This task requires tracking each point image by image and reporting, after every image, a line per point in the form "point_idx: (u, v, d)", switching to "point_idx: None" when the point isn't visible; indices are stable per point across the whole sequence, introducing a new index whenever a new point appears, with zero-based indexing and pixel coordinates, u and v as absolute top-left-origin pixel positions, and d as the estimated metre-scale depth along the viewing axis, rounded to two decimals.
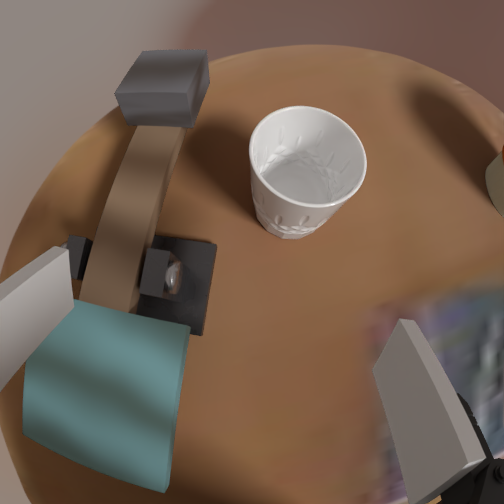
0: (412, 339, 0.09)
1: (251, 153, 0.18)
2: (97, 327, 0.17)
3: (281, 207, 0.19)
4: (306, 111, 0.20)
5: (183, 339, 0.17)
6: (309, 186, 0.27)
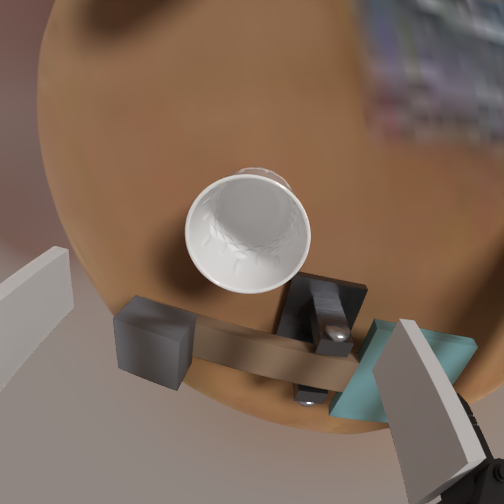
0: (413, 339, 0.09)
1: (249, 292, 0.20)
2: (364, 381, 0.25)
3: None
4: (189, 231, 0.19)
5: (386, 331, 0.23)
6: (241, 187, 0.26)
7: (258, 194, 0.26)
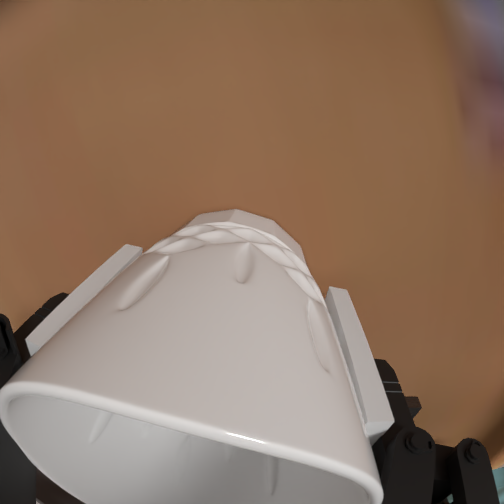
0: (337, 304, 0.10)
1: None
2: None
3: None
4: (33, 448, 0.04)
5: (450, 500, 0.08)
6: None
7: None
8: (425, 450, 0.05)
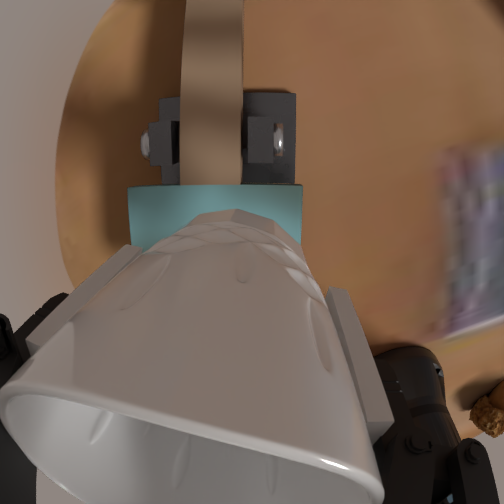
0: (337, 304, 0.10)
1: None
2: (209, 206, 0.20)
3: None
4: (33, 448, 0.04)
5: (301, 200, 0.19)
6: None
7: None
8: (425, 450, 0.05)
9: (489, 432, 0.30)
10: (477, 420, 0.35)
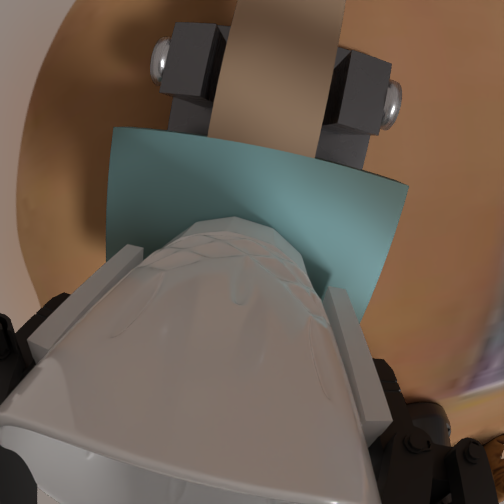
0: (336, 304, 0.10)
1: None
2: (252, 184, 0.11)
3: None
4: (29, 466, 0.04)
5: (401, 207, 0.11)
6: None
7: None
8: (423, 450, 0.05)
9: None
10: None
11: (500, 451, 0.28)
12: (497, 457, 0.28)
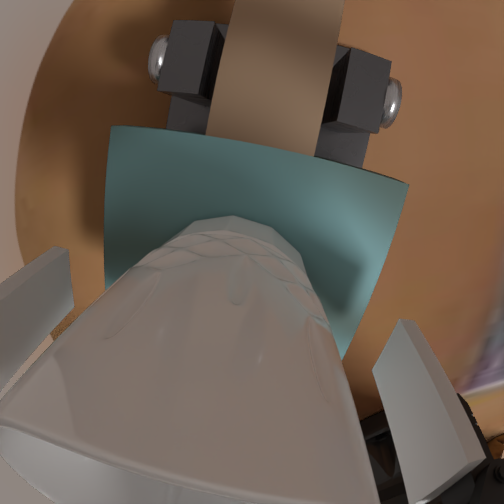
0: (413, 339, 0.09)
1: None
2: (251, 183, 0.11)
3: None
4: (26, 467, 0.04)
5: (401, 206, 0.11)
6: None
7: None
8: None
9: None
10: None
11: (500, 451, 0.28)
12: (497, 457, 0.28)
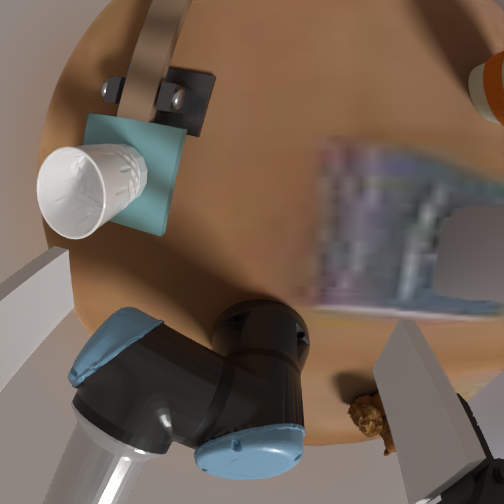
0: (412, 339, 0.09)
1: (73, 237, 0.22)
2: (128, 132, 0.28)
3: (109, 214, 0.23)
4: (40, 189, 0.21)
5: (180, 137, 0.28)
6: None
7: None
8: None
9: (361, 427, 0.43)
10: (353, 414, 0.47)
11: None
12: None
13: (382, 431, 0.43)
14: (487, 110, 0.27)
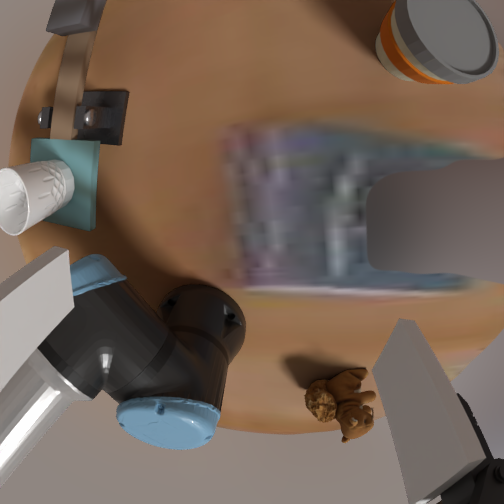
0: (413, 339, 0.09)
1: (14, 234, 0.26)
2: (58, 150, 0.32)
3: (36, 213, 0.26)
4: None
5: (93, 148, 0.32)
6: None
7: None
8: None
9: (312, 412, 0.45)
10: None
11: (352, 384, 0.49)
12: (348, 389, 0.49)
13: (338, 416, 0.45)
14: (395, 68, 0.29)
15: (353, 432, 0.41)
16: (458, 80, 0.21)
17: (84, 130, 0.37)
